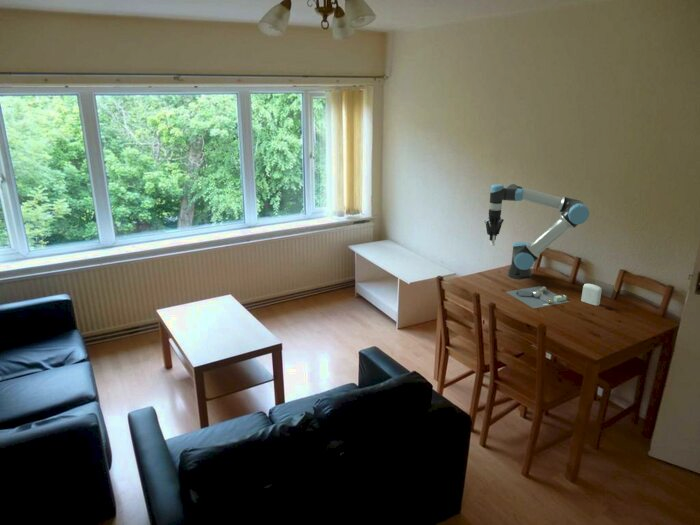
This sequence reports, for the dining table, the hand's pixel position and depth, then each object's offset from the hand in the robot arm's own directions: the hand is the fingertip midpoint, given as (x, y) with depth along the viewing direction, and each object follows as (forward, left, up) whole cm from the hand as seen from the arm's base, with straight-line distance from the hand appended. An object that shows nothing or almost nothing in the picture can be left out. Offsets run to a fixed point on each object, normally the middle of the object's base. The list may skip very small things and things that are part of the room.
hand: (492, 245), depth 321 cm
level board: (-9, +36, -24) cm, 44 cm away
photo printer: (-32, +54, -25) cm, 67 cm away
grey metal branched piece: (-7, +35, -23) cm, 42 cm away
